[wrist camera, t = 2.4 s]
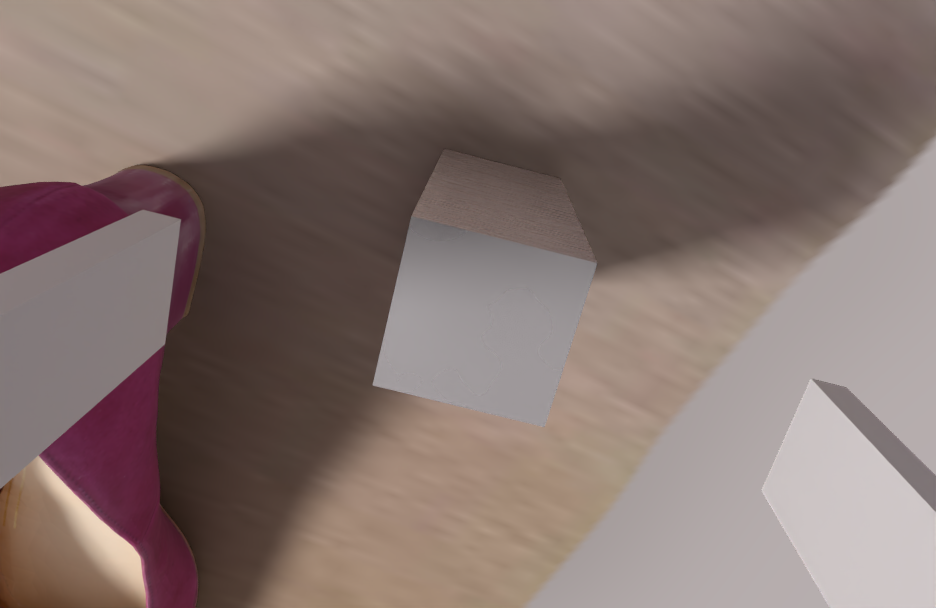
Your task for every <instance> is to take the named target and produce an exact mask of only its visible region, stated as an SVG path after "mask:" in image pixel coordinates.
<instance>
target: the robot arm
mask: <svg viewBox="0 0 936 608" xmlns="http://www.w3.org/2000/svg"><path fill="white" fill-rule="evenodd" d="M180 223H181V219H178V218H174V217H170V216H166V215H162V214H158V213H154V212H150V211H146V210H141V211H139V212H136V213H134V214H132V215H130V216H128V217H125V218H123V219H121V220H119V221H116V222H114V223H112V224H110V225H108V226H105V227H103V228H101V229H99V230H96V231H94V232H92V233H90V234H88V235H85V236H83V237H81V238H79V239H76V240H74V241H72V242H70V243H68V244H65V245H63V246H61V247H59V248H56V249H54V250H52V251H50V252H48V253H45V254H43V255H41V256H39V257H36V258H34V259H32V260H30V261H28V262H25V263H23V264H21V265H19V266H16V267H14V268H12V269H10V270H8V271H5V272H3V273H1V274H0V489H1V488H2V487H3V486H4V485H5V484H6V483H8V482H9V481H10V480H11V479H12V478H13V477H14V476H16V475H17V474H18V473H19V472H20V471H21V470H22V469H24V468H25V467H26V466H27V465H28V464H29V463H30V462H32V461H33V460H34V459H35V458H36V457H37V456H38V455H39V454H41V453H42V452H43V451H44V450H45V449H46V448H47V447H49V446H50V445H51V444H52V443H53V442H54V441H55V440H57V439H58V438H59V437H60V436H61V435H62V434H63V433H65V432H66V431H67V430H68V429H69V428H70V427H71V426H72V425H74V424H75V423H76V422H77V421H78V420H79V419H80V418H82V417H83V416H84V415H85V414H86V413H87V412H88V411H90V410H91V409H92V408H93V407H94V406H95V405H96V404H98V403H99V402H100V401H101V400H102V399H103V398H104V397H105V396H107V395H108V394H109V393H110V392H111V391H112V390H113V389H115V388H116V387H117V386H118V385H119V384H120V383H121V382H123V381H124V380H125V379H126V378H127V377H128V376H129V375H131V374H132V373H133V372H134V371H135V370H136V369H137V368H138V367H140V366H141V365H142V364H143V363H144V362H145V361H146V360H148V359H149V358H150V357H151V356H152V355H153V354H154V353H156V352H157V351H158V350H159V349H160V348H161V347H162V346H164V345H165V341H166V333H167V325H168V317H169V309H170V302H171V294H172V286H173V278H174V270H175V262H176V254H177V247H178V239H179V231H180ZM761 491H762V493H763V494H764V496H765V498H766V500H767V502H768V503H769V505H770V507H771V508H772V510H773V512H774V513H775V515H776V517H777V518H778V520H779V522H780V524H781V525H782V527H783V529H784V530H785V532H786V534H787V535H788V537H789V539H790V541H791V543H792V544H793V546H794V547H795V549H796V551H797V553H798V554H799V556H800V558H801V560H802V561H803V563H804V565H805V566H806V568H807V570H808V572H809V573H810V575H811V577H812V578H813V580H814V582H815V583H816V585H817V587H818V589H819V590H820V592H821V594H822V595H823V597H824V599H825V601H826V602H827V604H828V606H829V607H830V608H936V476H935V474H934V473H933V472H931V470H929V468H927V467H926V466H925V465H924V464H923V463H922V462H921V461H920V460H919V459H918V458H917V457H916V456H915V455H914V454H913V453H912V452H911V451H910V450H909V449H908V448H907V447H906V446H905V445H904V444H903V443H902V442H901V441H900V440H899V439H898V438H897V437H896V436H895V435H894V434H893V433H892V432H891V431H890V430H889V429H888V428H887V427H886V426H885V425H884V424H883V423H882V422H881V421H880V420H879V419H878V418H877V417H876V416H875V415H874V414H873V413H872V412H871V411H870V410H869V409H868V408H867V407H865V405H863V404H862V403H861V401H860V400H859V399H857V398H856V397H855V396H854V395H853V394H852V393H851V392H850V391H849V390H848V389H847V388H846V387H843V386H839V385H835V384H831V383H827V382H823V381H819V380H815V379H810V381H809V384H808V386H807V388H806V390H805V393H804V395H803V397H802V399H801V402H800V404H799V406H798V409H797V411H796V413H795V416H794V418H793V420H792V422H791V424H790V427H789V429H788V431H787V433H786V436H785V438H784V440H783V442H782V445H781V447H780V449H779V451H778V454H777V456H776V458H775V460H774V463H773V465H772V467H771V470H770V472H769V474H768V476H767V479H766V481H765V483H764V486H763V488H762V490H761Z"/></svg>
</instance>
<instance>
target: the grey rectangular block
mask: <svg viewBox="0 0 936 608" xmlns="http://www.w3.org/2000/svg"><path fill="white" fill-rule="evenodd" d="M596 266H597V261H596V259H595V257H594V254H593V252H592V250H591V247H590V245H589V243H588V240H587V238H586V236H585V234H584V231H583V229H582V227H581V224H580V222H579V220H578V217H577V215H576V213H575V211H574V208H573V206H572V204H571V201H570V199H569V197H568V194H567V192H566V190H565V188H564V185H563V183H562V181H561V179H560V178H556V177H553V176H549V175H545V174H541V173H537V172H533V171H529V170H526V169H522V168H518V167H514V166H510V165H506V164H502V163H498V162H495V161H491V160H487V159H483V158H479V157H475V156H471V155H468V154H464V153H460V152H456V151H452V150H448V149H444V150H443V152H442V154H441V156H440V158H439V161H438V163H437V165H436V167H435V169H434V171H433V173H432V175H431V177H430V179H429V181H428V183H427V185H426V187H425V189H424V191H423V193H422V195H421V197H420V199H419V201H418V204H417V206H416V208H415V210H414V212H413V214H412V216H411V220H410V224H409V229H408V233H407V237H406V242H405V246H404V250H403V255H402V259H401V264H400V268H399V272H398V277H397V281H396V285H395V290H394V294H393V298H392V303H391V307H390V311H389V316H388V320H387V325H386V329H385V333H384V338H383V342H382V346H381V351H380V355H379V359H378V364H377V368H376V372H375V377H374V381H373V386H377V387H381V388H385V389H390V390H394V391H398V392H402V393H406V394H410V395H414V396H418V397H422V398H427V399H431V400H435V401H439V402H443V403H447V404H451V405H455V406H459V407H464V408H468V409H472V410H476V411H480V412H484V413H488V414H492V415H497V416H501V417H505V418H509V419H513V420H517V421H521V422H525V423H529V424H534V425H538V426H542V427H545V424H546V421H547V418H548V415H549V412H550V409H551V405H552V402H553V399H554V396H555V393H556V390H557V387H558V384H559V381H560V378H561V375H562V371H563V368H564V365H565V362H566V359H567V356H568V353H569V350H570V347H571V344H572V340H573V337H574V334H575V331H576V328H577V325H578V322H579V319H580V316H581V313H582V310H583V306H584V303H585V300H586V297H587V294H588V291H589V288H590V285H591V282H592V279H593V275H594V272H595V269H596Z"/></svg>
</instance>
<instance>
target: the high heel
mask: <svg viewBox="0 0 936 608" xmlns="http://www.w3.org/2000/svg"><path fill="white" fill-rule="evenodd" d="M141 210H146V211H150V212H154V213H158V214H162V215H166V216H170V217H174V218H178V219H181V223H180V231H179V239H178V247H177V254H176V262H175V270H174V278H173V286H172V294H171V302H170V309H169V317H168V325H167V333H168V332H169V331H170V330H171V329H172V328H173V327H174V326H175V325H176V324H177V323H178V322H179V321H180V320H181V319H182V318H184V317H185V316H187V315H188V313H189V310H190V305H191V301H192V297H193V293H194V289H195V285H196V281H197V277H198V272H199V268H200V264H201V258H202V251H203V249H204V242H205V232H206V219H205V212H204V207H203V204H202V201H201V200H200V198H199V196H198V195H197V193H196V192H195V191H194V189H193V188H192V187H191V186H190V185H189V184H188V183H187V182H185V181H184V180H182V179H181V178H179V177H178V176H176V175H174V174H172V173H171V172H169V171H166V170H163V169H159V168H156V167H152V166H147V165H137V166H131V167H128V168H125V169H123V170H121V171H119V172H118V173H116V174H115V175H113V176H110V177H108V178H106V179H103V180H100V181H98V182H95V183H92V184H88V185H84V186H81V185H79V184H76V183H71V182H37V183H29V184H21V185H13V186H5V187H0V274H1V273H3V272H5V271H8V270H10V269H12V268H14V267H16V266H19V265H21V264H23V263H25V262H28V261H30V260H32V259H34V258H36V257H39V256H41V255H43V254H45V253H48V252H50V251H52V250H54V249H56V248H59V247H61V246H63V245H65V244H68V243H70V242H72V241H74V240H76V239H79V238H81V237H83V236H85V235H88V234H90V233H92V232H94V231H96V230H99V229H101V228H103V227H105V226H108V225H110V224H112V223H114V222H116V221H119V220H121V219H123V218H125V217H128V216H130V215H132V214H134V213H136V212H139V211H141ZM167 333H166V334H167ZM165 342H166V341H165ZM164 350H165V345H164V346H162V347H161V348H160V349H159V350H158V351H157V352H156V353H154V354H153V355H152V356H151V357H150V358H149V359H148V360H146V361H145V362H144V363H143V364H142V365H141V366H140V367H138V368H137V369H136V370H135V371H134V372H133V373H132V374H131V375H129V376H128V377H127V378H126V379H125V380H124V381H123V382H121V383H120V384H119V385H118V386H117V387H116V388H115V389H113V390H112V391H111V392H110V393H109V394H108V395H107V396H105V397H104V398H103V399H102V400H101V401H100V402H99V403H98V404H96V405H95V406H94V407H93V408H92V409H91V410H90V411H88V412H87V413H86V414H85V415H84V416H83V417H82V418H80V419H79V420H78V421H77V422H76V423H75V424H74V425H72V426H71V427H70V428H69V429H68V430H67V431H66V432H65V433H63V434H62V435H61V436H60V437H59V438H58V439H57V440H55V441H54V442H53V443H52V444H51V445H50V446H49V447H47V448H46V449H45V450H44V451H43V452H42V453H41V454H39V455H38V456H37V457H36V458H35V459H34V460H33V461H32V462H30V463H29V464H28V465H27V466H26V467H25V468H24V469H22V470H21V471H20V472H19V473H18V474H17V475H16V476H14V477H13V478H12V479H11V480H10V481H9V482H8V483H6V484H5V485H4V486H3V487H2V488H1V489H0V608H196V604H197V597H198V583H199V582H198V571H197V567H196V563H195V558H194V555H193V552H192V550H191V548H190V546H189V544H188V542H187V540H186V538H185V536H184V535H183V533H182V532H181V531H180V529H179V528H178V526H177V525H176V524H175V522H174V521H173V520H172V519H171V518H170V516H169V515H168V514H167V512H166V511H165V510H164V509H163V507H162V506H161V505H160V476H159V467H158V456H157V444H156V425H157V416H158V392H159V379H160V372H161V367H162V362H163V356H164Z"/></svg>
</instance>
